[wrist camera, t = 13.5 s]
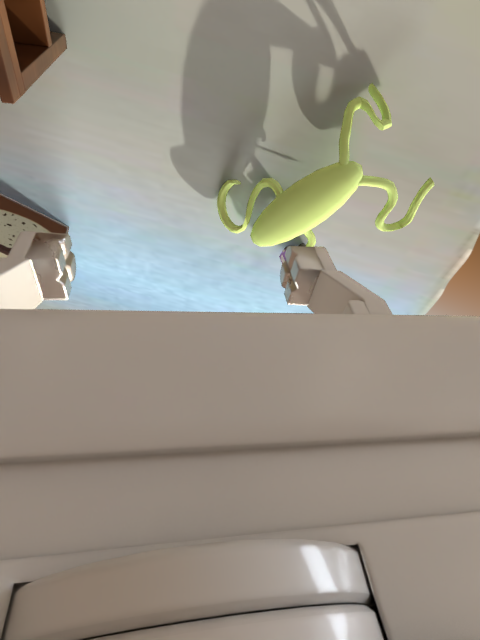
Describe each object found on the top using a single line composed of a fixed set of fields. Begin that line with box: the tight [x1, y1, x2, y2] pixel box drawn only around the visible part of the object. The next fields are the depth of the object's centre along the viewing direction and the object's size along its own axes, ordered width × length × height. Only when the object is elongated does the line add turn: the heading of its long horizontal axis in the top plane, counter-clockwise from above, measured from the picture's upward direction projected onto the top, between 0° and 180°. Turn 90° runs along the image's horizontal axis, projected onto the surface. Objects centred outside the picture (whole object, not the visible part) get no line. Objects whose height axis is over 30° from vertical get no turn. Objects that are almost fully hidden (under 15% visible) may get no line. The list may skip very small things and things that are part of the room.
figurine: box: [217, 84, 434, 263], centre depth 50 cm, size 18×27×6 cm
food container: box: [0, 193, 69, 258], centre depth 46 cm, size 12×6×10 cm, turn 51°
